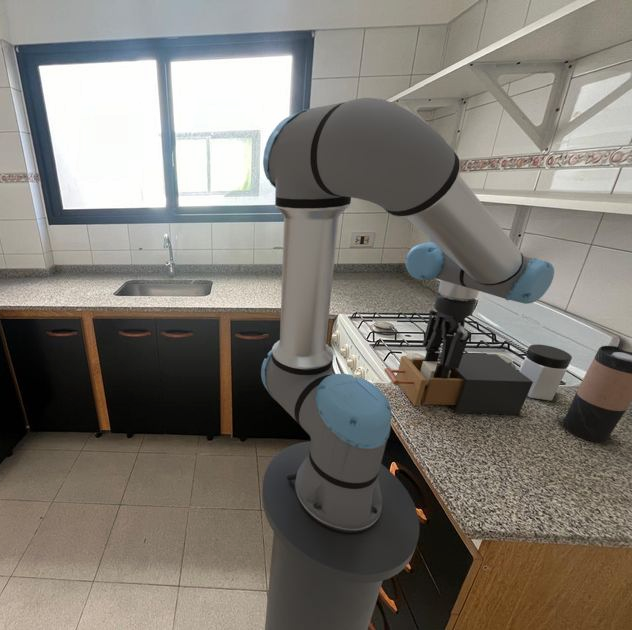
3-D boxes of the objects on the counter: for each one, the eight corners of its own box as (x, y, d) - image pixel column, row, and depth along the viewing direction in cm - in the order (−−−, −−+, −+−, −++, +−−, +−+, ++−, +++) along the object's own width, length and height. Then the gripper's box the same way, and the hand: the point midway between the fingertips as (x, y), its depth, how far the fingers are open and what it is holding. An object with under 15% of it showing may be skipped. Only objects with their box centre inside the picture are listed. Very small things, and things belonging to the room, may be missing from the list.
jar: (516, 378, 97) (531, 340, 93) (555, 390, 92) (573, 351, 87) (510, 391, 92) (526, 352, 87) (551, 405, 86) (570, 364, 82)
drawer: (394, 405, 86) (400, 379, 82) (377, 379, 96) (382, 355, 93) (471, 408, 84) (481, 381, 81) (446, 381, 95) (454, 357, 92)
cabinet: (455, 412, 84) (466, 379, 81) (429, 382, 96) (438, 352, 92) (518, 414, 83) (533, 381, 79) (485, 384, 95) (496, 354, 91)
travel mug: (579, 441, 75) (622, 362, 67) (552, 417, 82) (588, 344, 74) (619, 444, 74) (667, 365, 66) (588, 420, 81) (629, 346, 73)
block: (427, 386, 87) (431, 371, 85) (418, 376, 91) (422, 361, 89) (446, 386, 86) (451, 371, 84) (437, 376, 90) (441, 361, 89)
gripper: (500, 311, 71) (467, 402, 80) (452, 283, 87) (429, 362, 96) (462, 310, 71) (434, 401, 81) (421, 283, 87) (402, 362, 97)
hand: (431, 380), depth 88 cm, fingers closed on block, 5 cm apart
